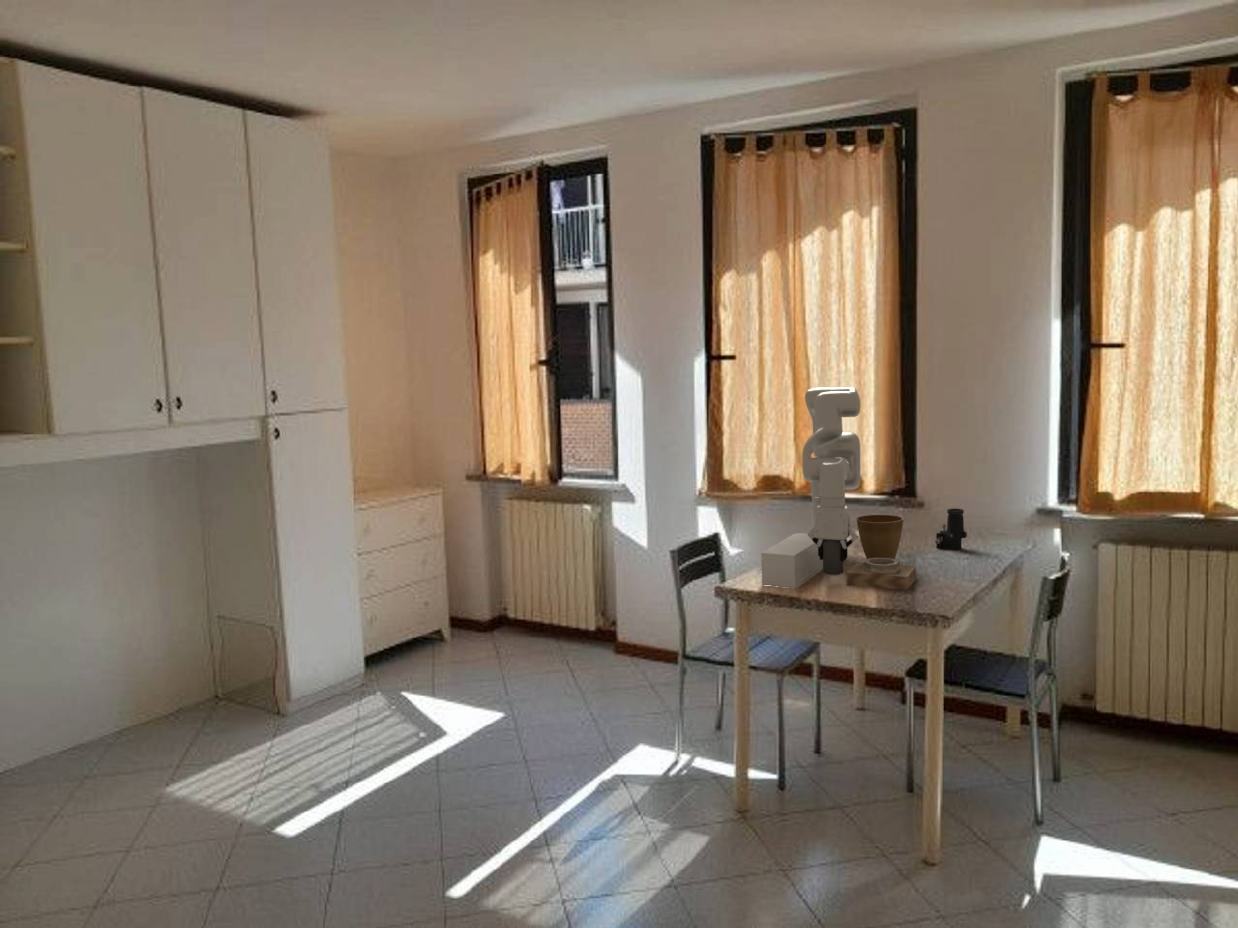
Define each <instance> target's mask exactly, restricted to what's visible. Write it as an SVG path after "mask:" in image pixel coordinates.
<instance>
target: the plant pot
mask: <svg viewBox="0 0 1238 928" xmlns="http://www.w3.org/2000/svg"><path fill="white" fill-rule="evenodd" d="M856 523H857V530H858V534H859V536H858V537H859V539H860V543H861V546H862V549H863V552H864V556H865V560H866V559H870V558H878V557H879V558H892V559H895V560H896V557H897V554H898V550H899V546H900V541H901V539H902V533H903V527H904V526H903V525H904V517H903V516H900V515H895V514H893V515H892V514H868V515H867V514H866V515H861V516H858V517H856Z"/></svg>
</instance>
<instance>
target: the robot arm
mask: <svg viewBox="0 0 1238 928" xmlns="http://www.w3.org/2000/svg"><path fill="white" fill-rule="evenodd" d="M804 402H805V405H806V408H807V410H808V412H809V415H810V417H811V421H812V434H811V435H810V437H809V438H808V439H807V441H806V442H805V444H804V446H803V449H802V454H801V459H802V460H801V461H802V466H801V467H802V475H803V478H804V479H805V480H806V481H807V482H809V484H810V485H809V486H810V491H811V504H812V505H811V509H812V510H811V512H812V513H811V515H812V516H811V518H812V519H811V520H812V522H811V523H812V527H811V528H812V529H811V530H810V531H809V532H807V533H806V534H807V535H808V536H809V537H810V538H811V539H812V540H813V542H814V543H815V544H816V545H817V547H818V556H820V560H822V559H823V540H824V539H825V540H840V542H841V544H842V549H841V561H842V562H843V563H844V562H845V561H846V560H847V559H848V547H850V545H851V544H853V543H854V542H855V541H856V540H857V539H858V538H859V536H858V534H857V533H856V532H855V531H854V530H853V529H852V528H851V526H850V525H851V523H850V517H849V516H850V513H849V510H848V506H847V505H846V490H848V491H850V490H851V491H853V490H857V489H859V487H860V484H861V473H862V472H861V442H860V438H859V436H858V435H857V433H854V432H850V431H849V432H848V431H847V432H846V431H845V432H843V418H855V417H857V416H859V414H860V412H861V398H860V395H859V392H858V390H857V389H856V388H855V387H851V386H844V387H843V386H839V387H835V386H834V387H828V386H827V387H816V388H815V387H813V388H810V389H808V390H806V391H805V395H804ZM812 454H813V455H814V456H815V457H812ZM814 534H815V535H814ZM849 537H851V538H850V539H849V540H847V539H848V538H849Z"/></svg>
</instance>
